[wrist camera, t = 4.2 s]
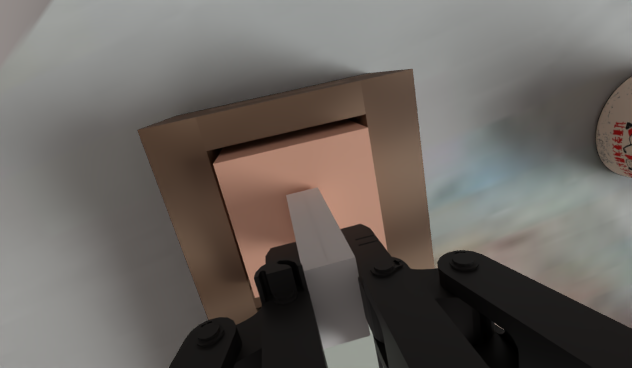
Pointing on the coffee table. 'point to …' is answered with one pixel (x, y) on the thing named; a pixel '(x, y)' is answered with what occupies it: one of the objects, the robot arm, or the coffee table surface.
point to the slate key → (353, 354)
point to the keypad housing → (272, 119)
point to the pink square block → (297, 184)
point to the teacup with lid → (617, 131)
